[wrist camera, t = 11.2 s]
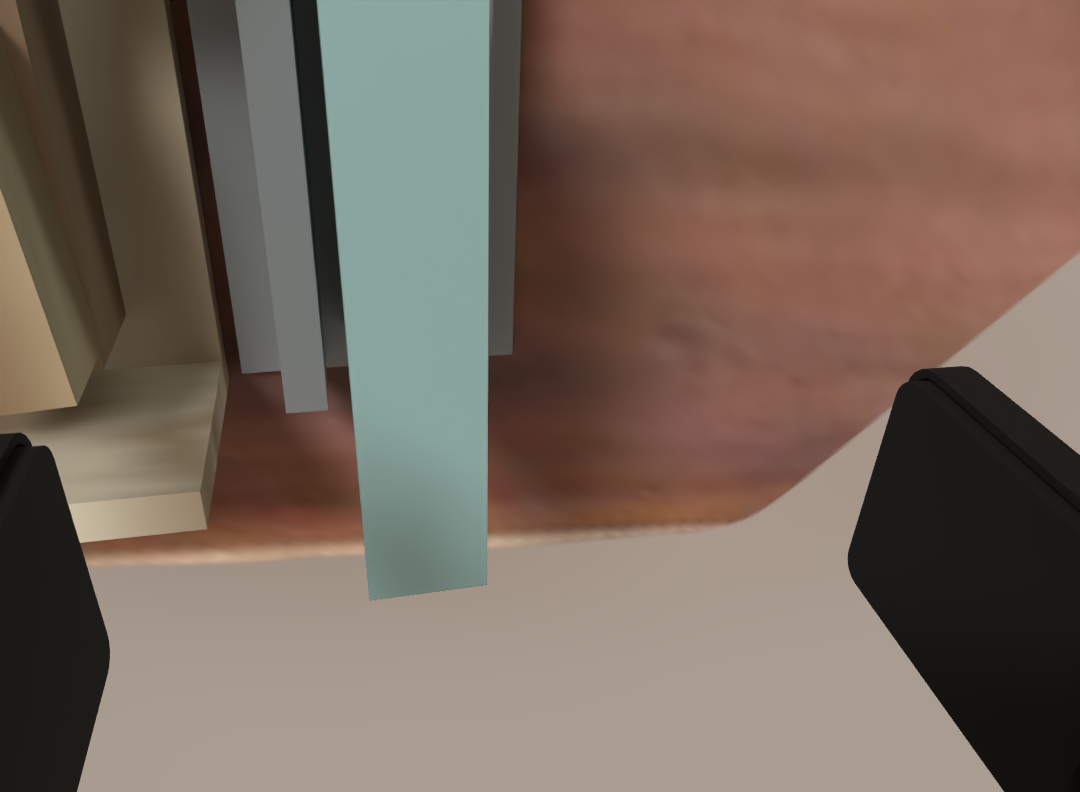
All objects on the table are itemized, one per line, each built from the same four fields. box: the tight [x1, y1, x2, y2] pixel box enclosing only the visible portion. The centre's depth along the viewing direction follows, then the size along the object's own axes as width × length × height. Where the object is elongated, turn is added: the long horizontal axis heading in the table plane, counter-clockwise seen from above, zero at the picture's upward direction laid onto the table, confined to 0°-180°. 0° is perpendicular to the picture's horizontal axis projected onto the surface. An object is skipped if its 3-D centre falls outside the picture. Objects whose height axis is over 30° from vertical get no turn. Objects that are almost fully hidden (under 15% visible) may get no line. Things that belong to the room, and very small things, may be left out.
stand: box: [186, 0, 522, 413], centre depth 25 cm, size 9×15×4 cm, turn 178°
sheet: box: [316, 0, 489, 600], centre depth 20 cm, size 2×12×13 cm, turn 179°
